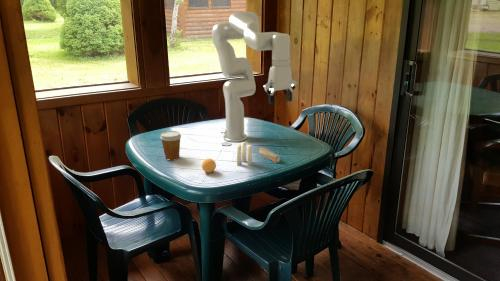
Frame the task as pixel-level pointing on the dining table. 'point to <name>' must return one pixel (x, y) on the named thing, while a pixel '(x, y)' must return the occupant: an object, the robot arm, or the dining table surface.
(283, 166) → the dining table surface
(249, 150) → the back right pin
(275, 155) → the back wall
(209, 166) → the ball
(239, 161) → the front pin
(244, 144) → the back left pin
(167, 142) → the disposable coffee cup
